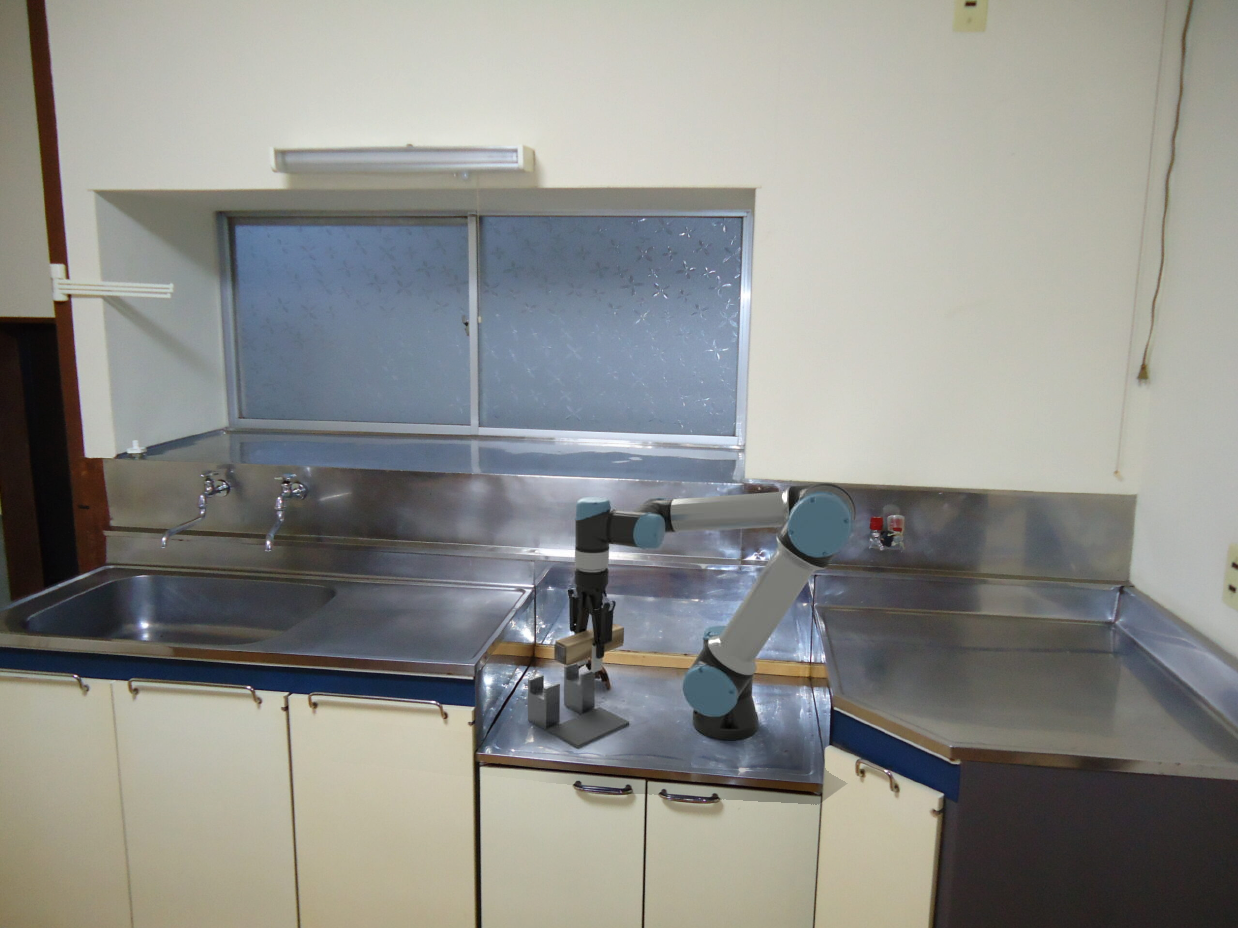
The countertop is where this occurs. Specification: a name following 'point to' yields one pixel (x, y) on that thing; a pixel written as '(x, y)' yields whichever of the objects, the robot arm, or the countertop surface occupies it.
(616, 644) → the oak rail
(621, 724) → the mat
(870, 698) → the countertop surface
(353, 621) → the countertop surface
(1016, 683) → the countertop surface
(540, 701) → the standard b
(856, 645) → the countertop surface
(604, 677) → the pottery mug
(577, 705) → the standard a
